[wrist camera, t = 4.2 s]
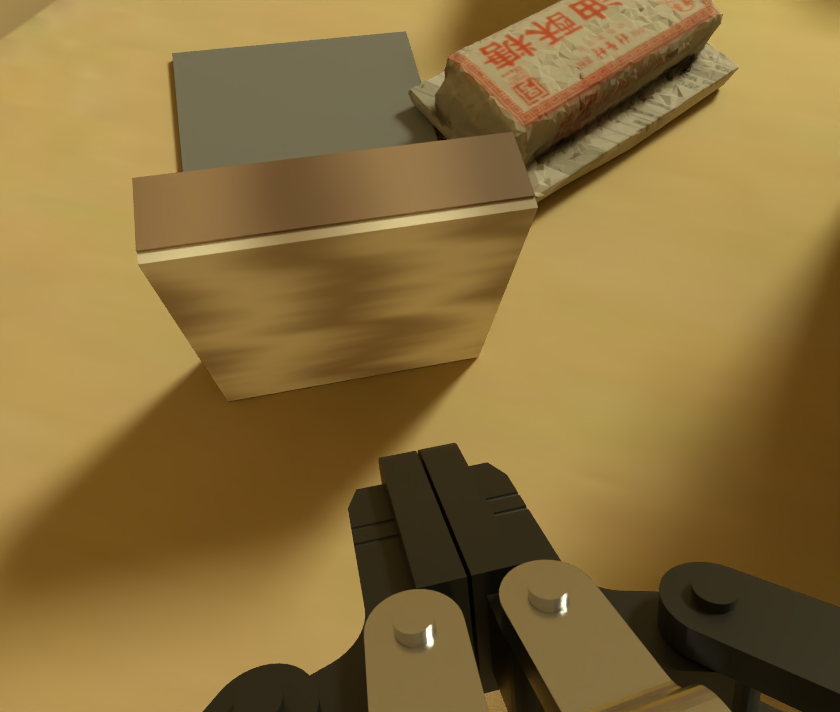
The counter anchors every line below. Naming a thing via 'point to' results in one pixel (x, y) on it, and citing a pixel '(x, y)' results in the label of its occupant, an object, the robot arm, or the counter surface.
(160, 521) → the counter surface
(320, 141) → the mat
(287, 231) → the walnut tile
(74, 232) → the counter surface
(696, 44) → the packaged product
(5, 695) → the counter surface
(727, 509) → the counter surface
